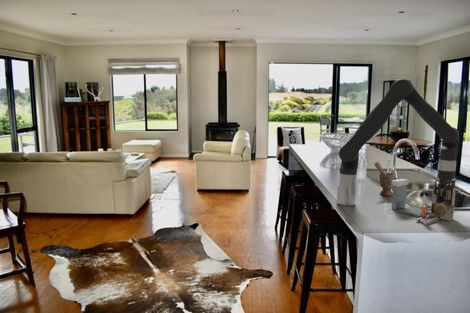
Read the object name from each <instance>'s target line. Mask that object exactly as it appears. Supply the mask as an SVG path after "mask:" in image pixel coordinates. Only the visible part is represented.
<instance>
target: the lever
mask: <svg viewBox="0 0 470 313" xmlns="http://www.w3.org/2000/svg"><path fill="white" fill-rule="evenodd" d="M428 207H429V206H428V205H427V204H426V205H425V204H423V205H421V209H422V212H421V218H420V217H419V218H420V222H419V223H423V224H424V221H426V220H427V211H428Z"/></svg>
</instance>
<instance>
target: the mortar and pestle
mask: <svg viewBox="0 0 470 313" xmlns="http://www.w3.org/2000/svg"><path fill="white" fill-rule="evenodd" d="M374 167H375V168H376V169H377V171H378V172H379V184H380V187H381V188H382V190H380V193H379V195H380V196H382V197H392V195H393V191H391V189H393V185H392V180H396V174H395V173H393V172H385V171H384V169H383V168H382V165H381V164H380V163H379V162H377V161H376V162H375V163H374Z"/></svg>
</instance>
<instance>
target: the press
mask: <svg viewBox="0 0 470 313" xmlns="http://www.w3.org/2000/svg"><path fill="white" fill-rule="evenodd" d="M392 185H393V187H392V193H393V195H392V196H391V197H392V198H391V210H395V211H397V210H399V212H398V213H401V214H404V215H408V216H411V217H415V218H416V219H415V222H416V223H421V222H420V218H421V217H420V216H421V212H422V208H419V207H415V206H410V207H406V201H407V187H408V186H407V185H409V179H407V178H399V179H395V180H392ZM427 214H428V215H427V219H428V220H426V221H424V223H423V224H424V225H425V226H427V225H430V224H433V222H434V223H437V222H439V221H440V220H441V219H440V214H436V213H433V212H431V210H430V211H429V210H427ZM430 218H431V219H430Z"/></svg>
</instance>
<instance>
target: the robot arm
mask: <svg viewBox="0 0 470 313" xmlns="http://www.w3.org/2000/svg"><path fill="white" fill-rule="evenodd" d="M402 101H405V102H406V103H407V104H409V105H410V106H411V107H412V109H414V111H415V112H416V113H417V114H418V115H419V117H420V118H421V119H422V120H423V121H424V122H425V123H426V124H427V125H428V126H429V127H430V128H432V130H433V131H434V132H435V133H436V134H437V136H438V137H439V138H440V139H441V148H440V152H439V160H438V164H437V175H436V177H437V178H438V179H439V181H438V182H437V181H435V182H434V185H435V187H434V194H436V195H437V198H436V202H437V203H441V202H442V194H443V192H445V188H446V187H448V186H456V172H457V171H456V169H457V168H456V167H457V154H458V152H457V150H458V144H459V137H460V133H459V130H458V129H457V128H455V127H454V126H451V124H449V123H448V122H447V121H446V119H445V118H444V116H442V115H441V114H440V112H438V110H436V109H435V108H434V106H432V105H431V104H430V103H428V102H427V101H426V99H424V98H423V97H422V96H421V95H420V93H419V92H418V91H417V89H416V88H415V87H414V85H413V83H412V81H410V80H408V79H405V78H399V79H396V80H395V81H394V82H393V83H392V85H391V86H390V88H389V89H388V91H387V92H386V94H385V96H384V97H383V98H382V99H381V101H380V102H378V104H376V106H375V107H374V108H373V109H372V110H371V111H370V113H368V115H367V116H366V118H364V120H362V123H361V124H360V125H359V126H358V128H357V129H356V131H355V132H354V134H353V135H352V136H351V137H350V139H348V140H347V142H346V143H345V144H343V145H342V146H341V148H339V151H338V157H339V159H340V160H341V162H340V166H339V170H338V171H339V174H338V178H339V179H338V186H337V187H336V188H337V190H336V204H338V205H342V206H344V207H346V206H348V207H351V206H352V207H353V206H355V205H356V195H357V178H358V177H357V176H358V168H359V159H360V151H361V149H362V148H363V147H364V145H365V144H366V143H367V142H369V141H370V140H371V139H373V137H375V135H376V134H378V132H380V130H381V129H382V128H383V127H384V126H385V124H386V123H387V121H388V119H389V118H390V116H391V115H392V113H393V111H394V110H395V108H396V107H397V106H398V105H399V103H401V102H402ZM441 187H444V189H443V190H442V189H441ZM436 191H437V192H436ZM440 191H441V193H440Z"/></svg>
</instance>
